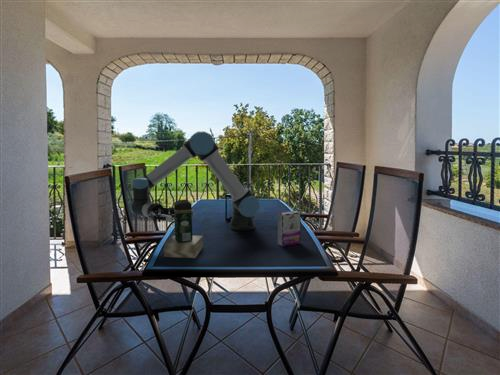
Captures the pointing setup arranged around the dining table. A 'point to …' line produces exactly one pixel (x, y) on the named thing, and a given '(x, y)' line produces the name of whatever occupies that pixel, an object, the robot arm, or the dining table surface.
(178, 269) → the dining table surface
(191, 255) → the birch block
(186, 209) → the coffee jar
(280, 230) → the candy bar box
